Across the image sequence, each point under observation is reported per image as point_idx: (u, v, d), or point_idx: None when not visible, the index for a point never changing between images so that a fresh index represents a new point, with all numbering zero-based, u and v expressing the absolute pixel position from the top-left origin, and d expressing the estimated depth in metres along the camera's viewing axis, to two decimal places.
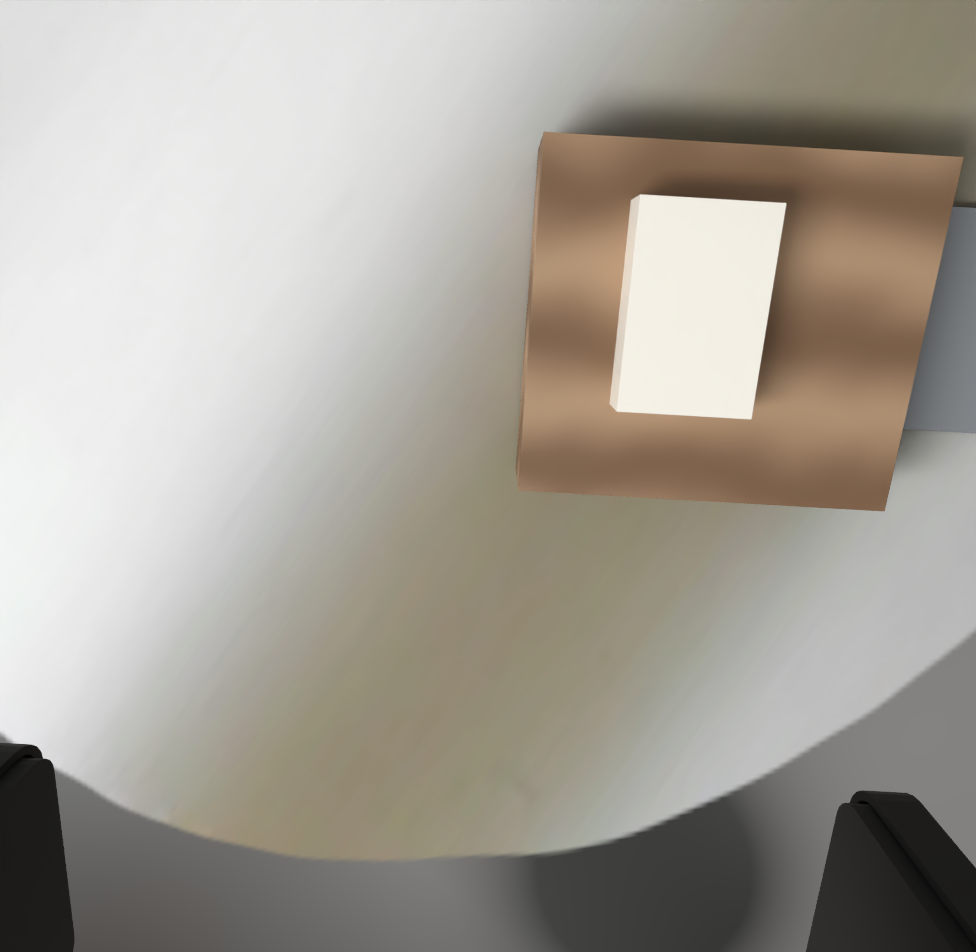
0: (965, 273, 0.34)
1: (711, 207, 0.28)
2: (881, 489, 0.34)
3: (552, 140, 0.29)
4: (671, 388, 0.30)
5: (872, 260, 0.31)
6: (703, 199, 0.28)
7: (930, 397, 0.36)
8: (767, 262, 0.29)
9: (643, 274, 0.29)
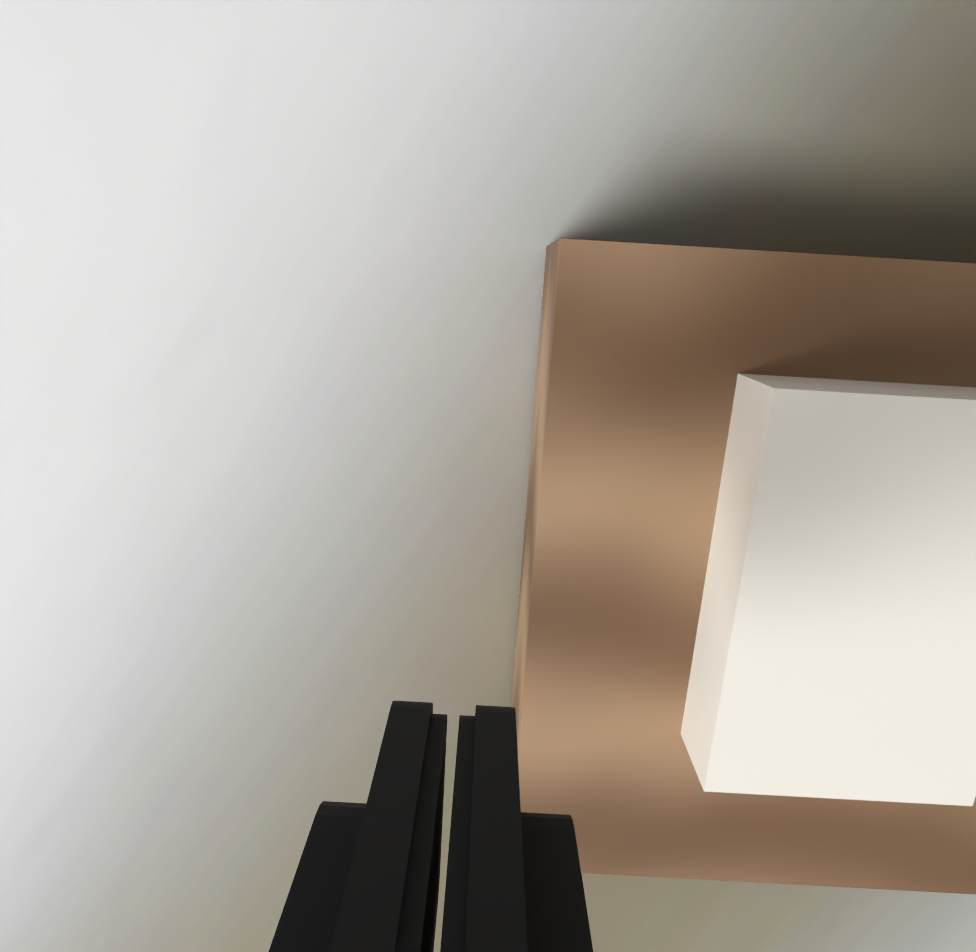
0: None
1: (929, 415, 0.13)
2: None
3: (578, 256, 0.14)
4: (816, 752, 0.15)
5: None
6: (913, 399, 0.13)
7: None
8: None
9: (772, 546, 0.14)
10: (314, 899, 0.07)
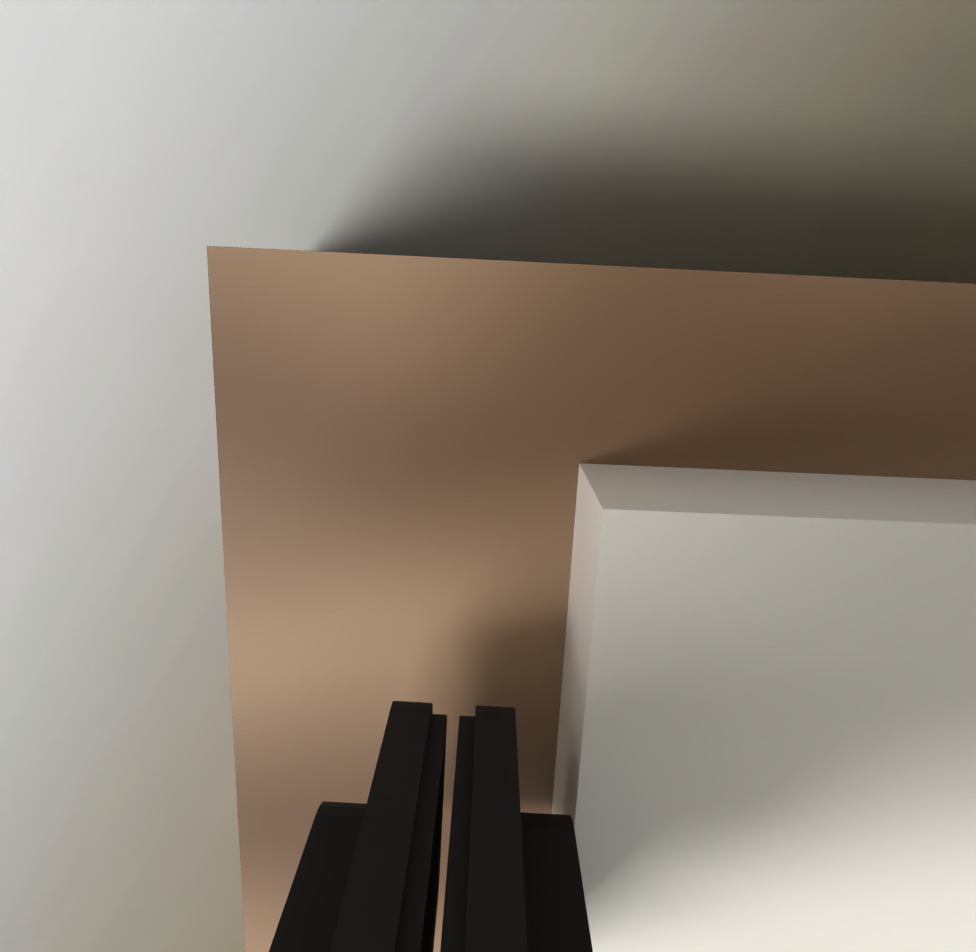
0: None
1: (878, 550, 0.07)
2: None
3: (239, 274, 0.09)
4: None
5: None
6: (848, 523, 0.07)
7: None
8: None
9: (622, 766, 0.08)
10: (314, 899, 0.07)
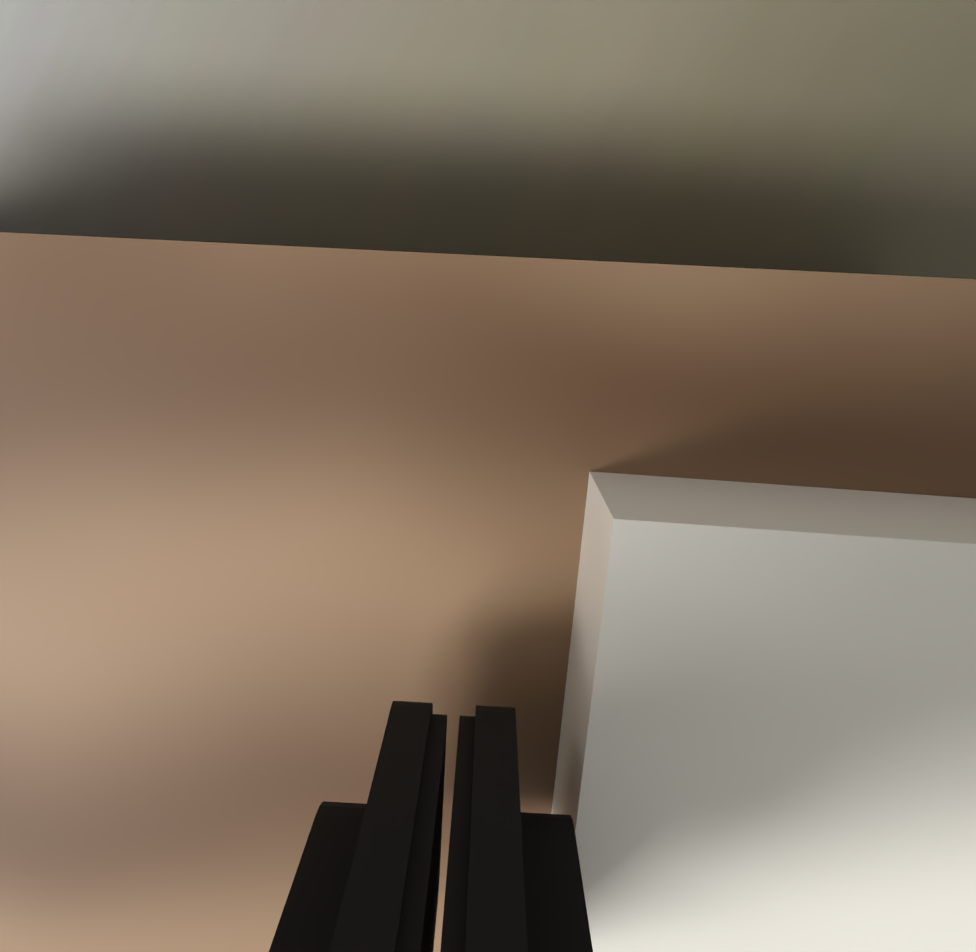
0: None
1: (885, 567, 0.07)
2: None
3: None
4: None
5: None
6: (856, 539, 0.07)
7: None
8: None
9: (625, 772, 0.08)
10: (314, 899, 0.07)
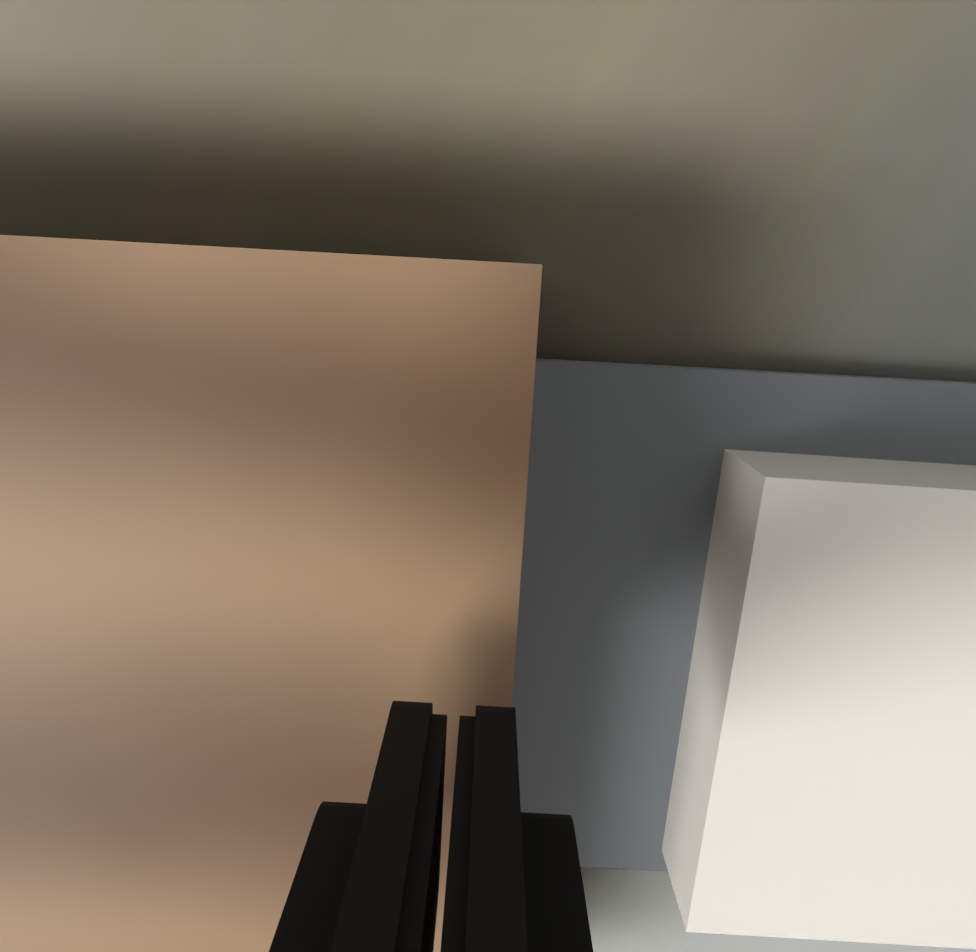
0: (699, 529, 0.13)
1: None
2: None
3: None
4: None
5: (304, 581, 0.10)
6: None
7: (646, 803, 0.15)
8: None
9: None
10: (314, 899, 0.07)
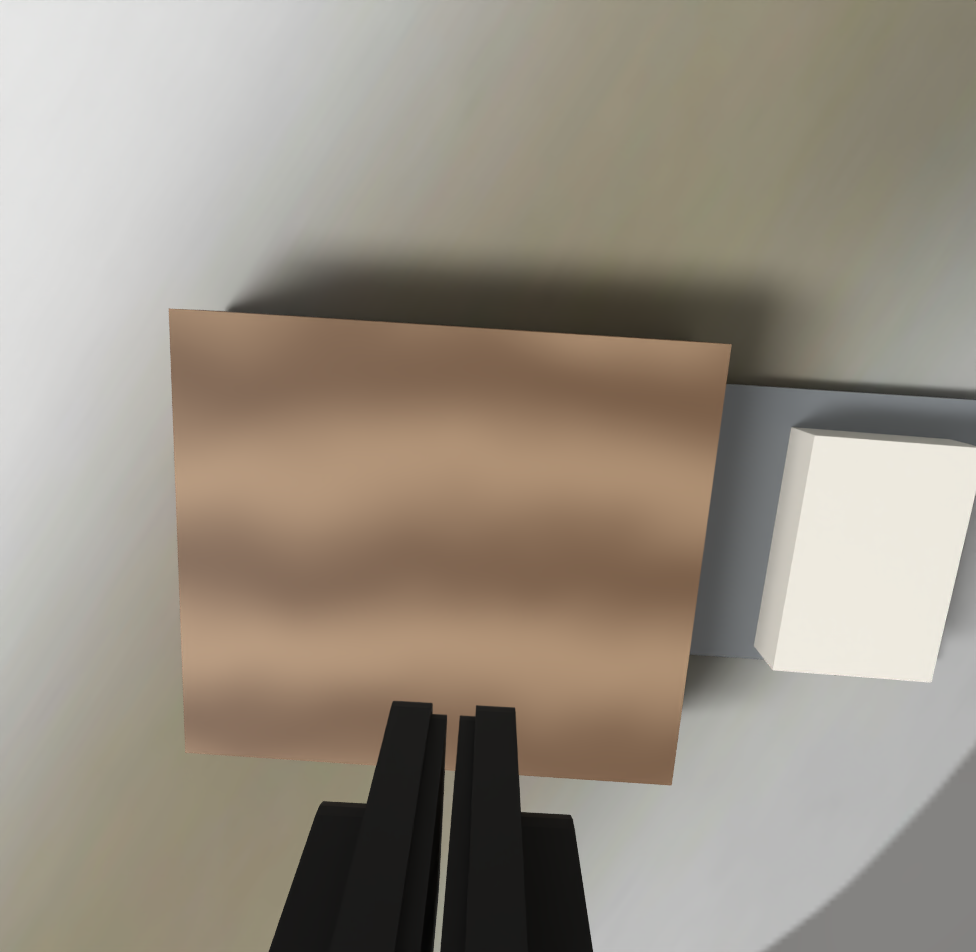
0: (777, 467, 0.26)
1: None
2: (664, 758, 0.25)
3: (181, 319, 0.22)
4: None
5: (622, 473, 0.23)
6: (880, 435, 0.26)
7: (746, 618, 0.28)
8: None
9: None
10: (314, 899, 0.07)
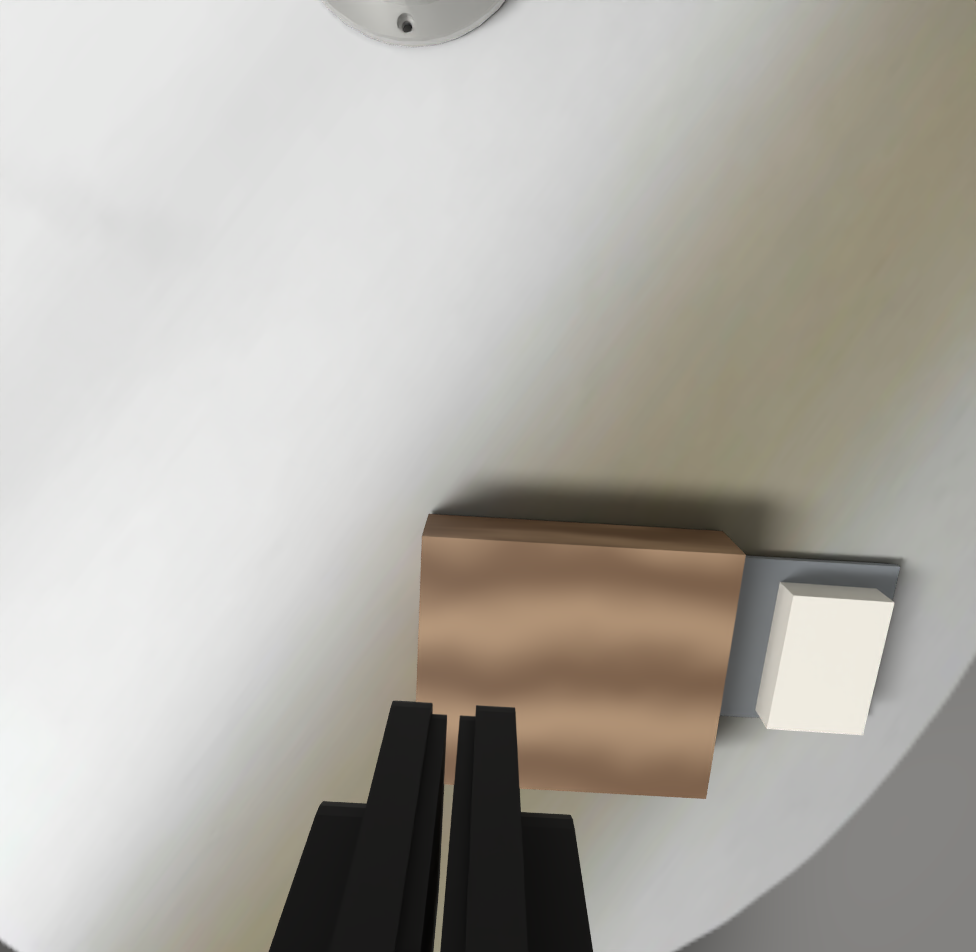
0: (771, 605, 0.43)
1: None
2: (702, 783, 0.42)
3: (428, 542, 0.38)
4: None
5: (681, 624, 0.39)
6: (834, 586, 0.43)
7: (750, 693, 0.45)
8: None
9: None
10: (314, 899, 0.07)
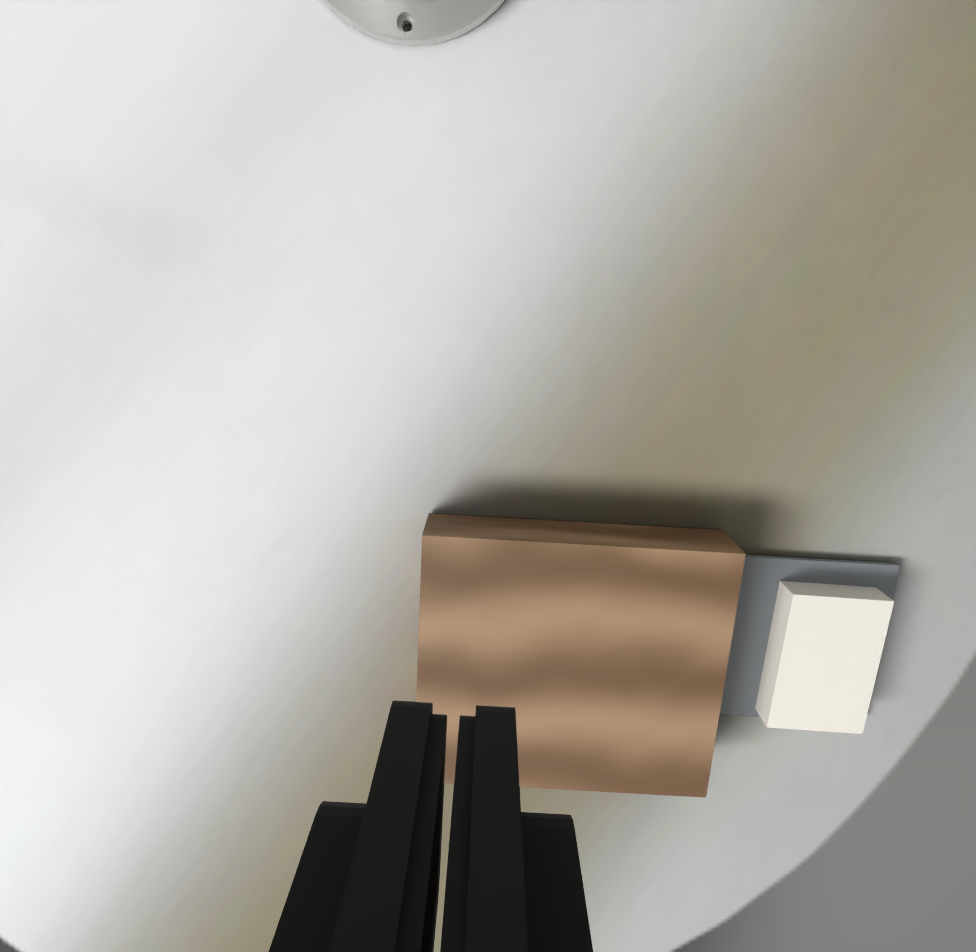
0: (771, 604, 0.43)
1: None
2: (702, 781, 0.42)
3: (429, 541, 0.38)
4: None
5: (681, 623, 0.39)
6: (834, 585, 0.43)
7: (750, 692, 0.45)
8: None
9: None
10: (314, 899, 0.07)
